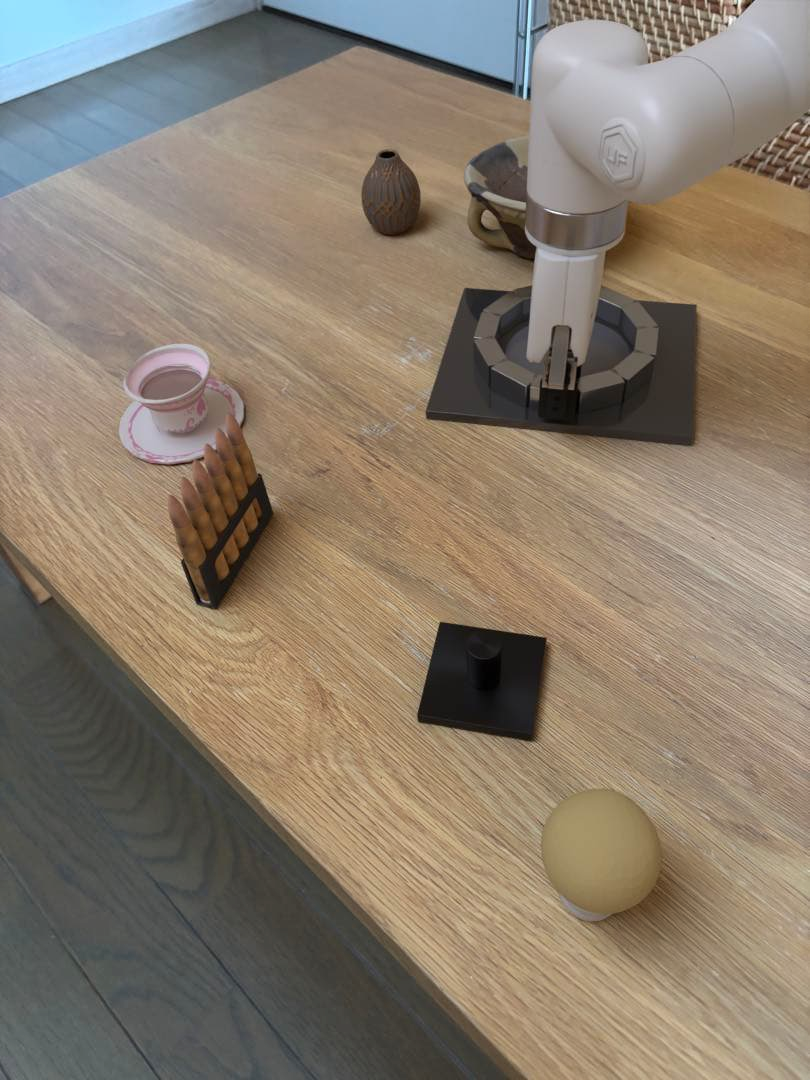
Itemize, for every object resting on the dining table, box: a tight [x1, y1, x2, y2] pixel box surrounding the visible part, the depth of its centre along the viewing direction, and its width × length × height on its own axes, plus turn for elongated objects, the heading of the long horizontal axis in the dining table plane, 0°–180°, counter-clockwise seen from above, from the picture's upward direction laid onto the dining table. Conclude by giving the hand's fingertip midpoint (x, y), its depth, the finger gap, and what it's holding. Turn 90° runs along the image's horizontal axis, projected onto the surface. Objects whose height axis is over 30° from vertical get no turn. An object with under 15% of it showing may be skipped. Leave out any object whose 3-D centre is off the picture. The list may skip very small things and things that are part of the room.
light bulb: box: [540, 787, 663, 922], centre depth 48 cm, size 6×6×10 cm
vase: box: [360, 148, 422, 236], centre depth 100 cm, size 7×7×9 cm
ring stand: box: [416, 621, 548, 742], centre depth 60 cm, size 8×8×5 cm
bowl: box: [463, 134, 536, 260], centre depth 95 cm, size 18×18×10 cm
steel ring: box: [474, 284, 659, 414], centre depth 83 cm, size 17×17×3 cm
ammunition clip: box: [167, 413, 274, 610], centre depth 67 cm, size 11×2×12 cm, turn 160°
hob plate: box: [425, 287, 698, 447], centre depth 84 cm, size 24×20×1 cm
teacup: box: [118, 343, 245, 465], centre depth 80 cm, size 12×12×6 cm
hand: (559, 397), depth 79 cm, fingers open, 4 cm apart
